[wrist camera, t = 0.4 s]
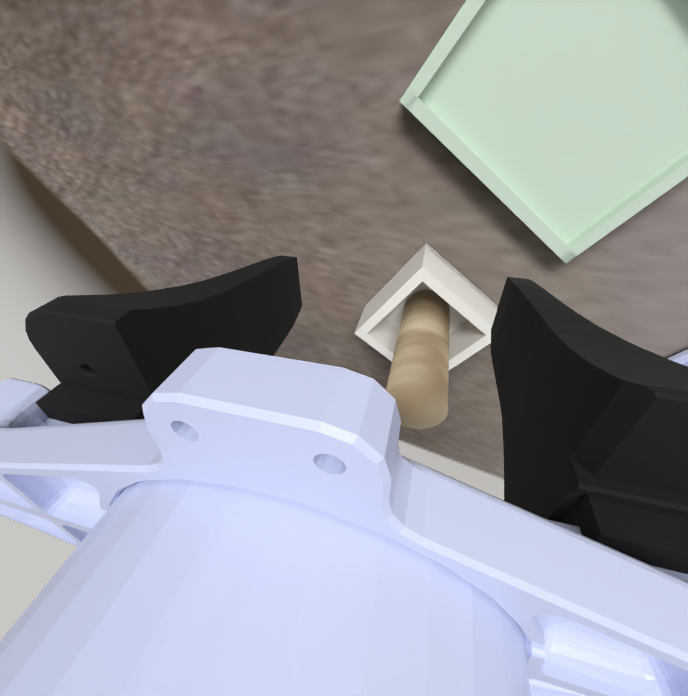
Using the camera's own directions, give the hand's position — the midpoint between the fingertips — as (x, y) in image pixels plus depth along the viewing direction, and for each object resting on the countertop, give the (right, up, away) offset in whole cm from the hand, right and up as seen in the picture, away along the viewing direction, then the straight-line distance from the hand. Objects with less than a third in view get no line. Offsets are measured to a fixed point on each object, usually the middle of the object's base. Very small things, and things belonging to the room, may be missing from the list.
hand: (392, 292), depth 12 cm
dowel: (+4, +1, +11) cm, 12 cm away
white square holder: (+4, +1, +11) cm, 12 cm away
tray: (+8, +9, +3) cm, 13 cm away
